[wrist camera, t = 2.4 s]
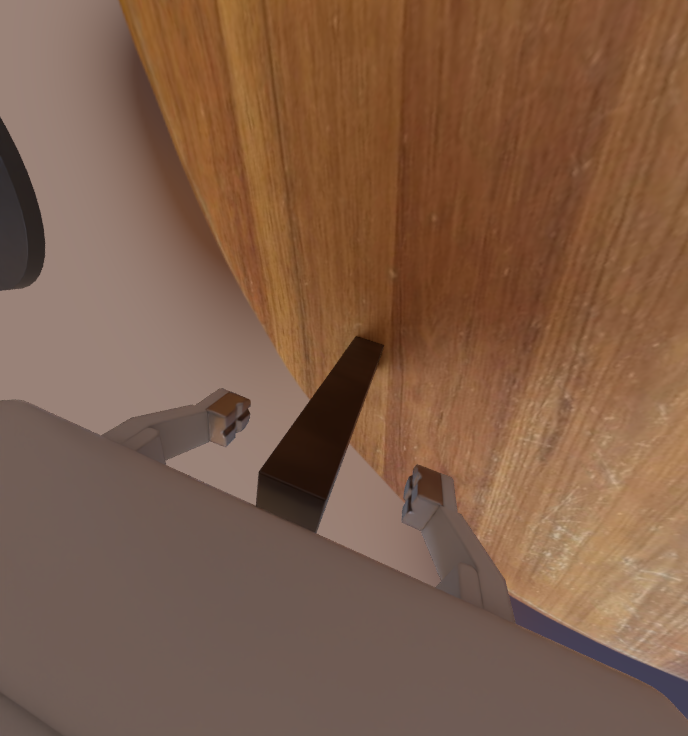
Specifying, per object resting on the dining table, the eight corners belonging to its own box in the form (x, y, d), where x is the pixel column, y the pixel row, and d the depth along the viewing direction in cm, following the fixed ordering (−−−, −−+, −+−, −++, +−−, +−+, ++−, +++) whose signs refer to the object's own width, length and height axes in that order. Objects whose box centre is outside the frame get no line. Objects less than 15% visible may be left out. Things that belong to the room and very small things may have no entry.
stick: (349, 361, 21) (254, 513, 9) (355, 336, 20) (257, 471, 8) (375, 370, 21) (313, 539, 9) (384, 345, 20) (326, 500, 8)
